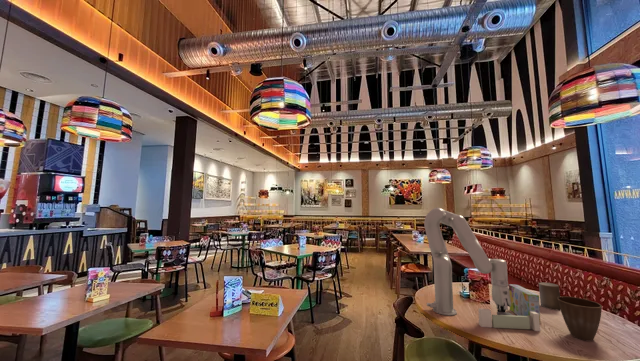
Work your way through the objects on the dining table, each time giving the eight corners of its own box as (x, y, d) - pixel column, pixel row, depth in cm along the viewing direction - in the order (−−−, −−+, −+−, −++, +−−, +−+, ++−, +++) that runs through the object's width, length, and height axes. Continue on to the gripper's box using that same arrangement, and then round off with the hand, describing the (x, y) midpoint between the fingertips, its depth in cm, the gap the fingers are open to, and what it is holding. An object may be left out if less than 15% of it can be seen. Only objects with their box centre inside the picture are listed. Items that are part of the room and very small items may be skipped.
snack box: (542, 325, 134) (539, 295, 135) (529, 324, 135) (527, 294, 137) (519, 310, 154) (517, 284, 156) (509, 309, 155) (507, 283, 157)
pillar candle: (566, 310, 155) (563, 284, 157) (549, 309, 155) (546, 283, 157) (551, 304, 165) (549, 280, 167) (536, 304, 165) (534, 279, 167)
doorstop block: (504, 327, 131) (503, 316, 131) (497, 321, 138) (496, 311, 138) (517, 328, 130) (517, 317, 130) (510, 322, 137) (509, 312, 137)
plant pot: (614, 343, 116) (610, 305, 118) (592, 347, 112) (588, 308, 114) (573, 328, 130) (570, 295, 132) (552, 332, 126) (549, 297, 128)
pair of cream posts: (481, 327, 131) (480, 310, 132) (478, 324, 134) (478, 308, 135) (540, 331, 127) (539, 314, 128) (536, 328, 130) (534, 311, 131)
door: (494, 327, 129) (493, 315, 130) (492, 326, 131) (491, 313, 132) (533, 329, 128) (532, 316, 129) (530, 328, 130) (529, 315, 130)
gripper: (515, 286, 134) (518, 324, 132) (499, 279, 149) (501, 313, 147) (499, 286, 135) (502, 323, 133) (485, 278, 150) (487, 312, 148)
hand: (501, 317), depth 140 cm, fingers closed
